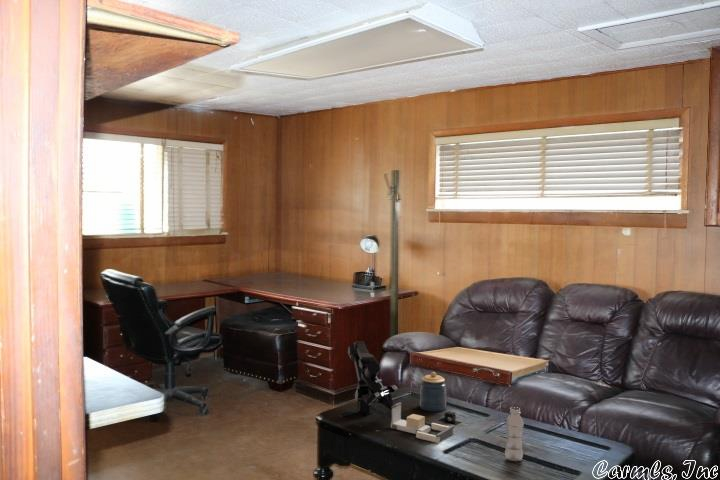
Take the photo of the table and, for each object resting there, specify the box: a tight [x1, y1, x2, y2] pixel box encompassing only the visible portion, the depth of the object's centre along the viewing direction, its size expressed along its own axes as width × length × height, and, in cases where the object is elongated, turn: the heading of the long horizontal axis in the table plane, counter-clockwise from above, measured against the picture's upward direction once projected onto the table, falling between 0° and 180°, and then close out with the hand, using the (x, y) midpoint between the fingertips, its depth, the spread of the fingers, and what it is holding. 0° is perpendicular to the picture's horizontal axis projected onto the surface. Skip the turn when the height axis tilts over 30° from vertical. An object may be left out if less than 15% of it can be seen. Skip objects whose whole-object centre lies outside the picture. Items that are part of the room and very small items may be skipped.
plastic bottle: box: [504, 406, 525, 462], centre depth 229 cm, size 6×7×20 cm
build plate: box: [437, 411, 463, 426], centre depth 273 cm, size 12×7×5 cm, turn 51°
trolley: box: [390, 401, 432, 435], centre depth 262 cm, size 16×9×10 cm, turn 55°
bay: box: [415, 422, 455, 444], centre depth 255 cm, size 10×14×3 cm
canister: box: [419, 371, 448, 412], centre depth 293 cm, size 13×13×18 cm
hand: (392, 410), depth 267 cm, fingers closed
